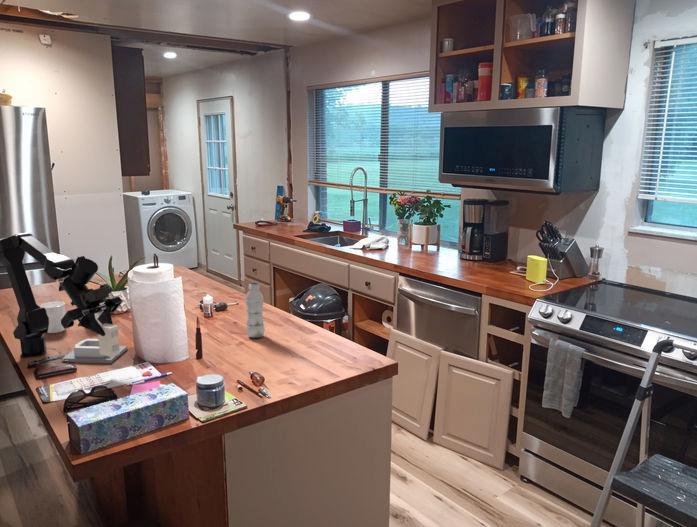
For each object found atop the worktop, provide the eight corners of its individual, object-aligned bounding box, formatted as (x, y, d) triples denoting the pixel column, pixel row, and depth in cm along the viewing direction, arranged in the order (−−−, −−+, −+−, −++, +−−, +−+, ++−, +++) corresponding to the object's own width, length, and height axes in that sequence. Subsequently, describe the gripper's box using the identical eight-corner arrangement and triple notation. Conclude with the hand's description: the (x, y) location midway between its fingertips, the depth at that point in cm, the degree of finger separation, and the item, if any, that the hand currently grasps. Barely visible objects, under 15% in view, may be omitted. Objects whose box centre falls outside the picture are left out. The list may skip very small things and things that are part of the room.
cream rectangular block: (99, 354, 167) (97, 325, 165) (107, 350, 170) (105, 323, 168) (113, 357, 165) (110, 328, 163) (121, 354, 168) (118, 325, 166)
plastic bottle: (261, 340, 198) (259, 286, 194) (243, 339, 199) (241, 285, 195) (267, 334, 204) (266, 282, 200) (250, 333, 206) (248, 280, 201)
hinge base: (62, 361, 177) (60, 349, 176) (81, 348, 189) (80, 336, 188) (110, 363, 177) (109, 351, 176) (127, 349, 188) (126, 337, 187)
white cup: (38, 331, 204) (35, 305, 202) (58, 325, 211) (55, 300, 209) (52, 335, 201) (49, 308, 199) (72, 328, 208) (69, 303, 205)
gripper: (63, 284, 156) (95, 327, 154) (116, 270, 173) (145, 309, 171) (47, 307, 161) (77, 349, 159) (100, 291, 178) (128, 329, 176)
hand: (108, 333), depth 166 cm, fingers closed on cream rectangular block, 3 cm apart
